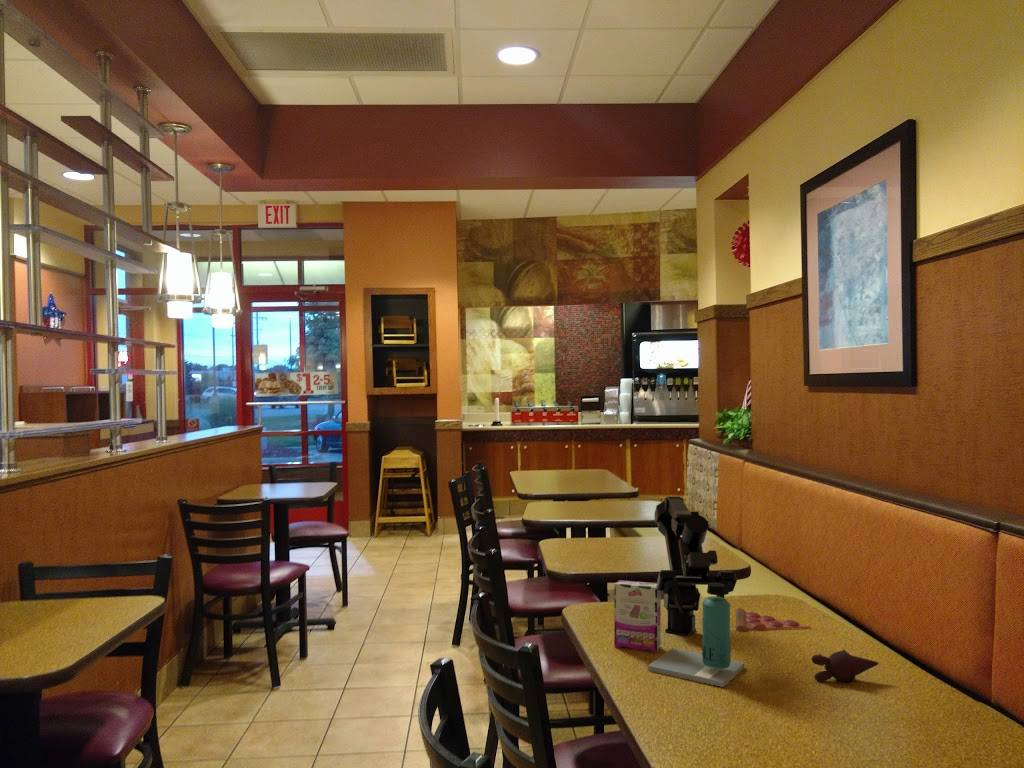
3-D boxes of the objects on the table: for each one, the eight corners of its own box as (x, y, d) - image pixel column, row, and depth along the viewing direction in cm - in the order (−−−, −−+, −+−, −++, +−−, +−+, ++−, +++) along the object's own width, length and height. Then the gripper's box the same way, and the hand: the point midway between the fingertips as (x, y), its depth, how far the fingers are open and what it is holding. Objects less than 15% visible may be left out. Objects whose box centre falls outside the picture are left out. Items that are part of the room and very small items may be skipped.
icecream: (867, 645, 180) (804, 651, 180) (882, 648, 173) (816, 654, 173) (873, 677, 179) (809, 683, 178) (888, 680, 172) (822, 687, 171)
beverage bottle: (734, 669, 178) (735, 582, 178) (725, 678, 173) (725, 588, 173) (707, 663, 182) (707, 578, 182) (697, 672, 176) (697, 584, 176)
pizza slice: (736, 607, 229) (808, 613, 223) (736, 614, 229) (807, 621, 223) (736, 625, 211) (814, 632, 205) (735, 633, 211) (814, 641, 205)
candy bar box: (661, 647, 197) (661, 583, 197) (657, 653, 192) (657, 587, 192) (618, 641, 201) (618, 578, 201) (613, 647, 197) (614, 583, 197)
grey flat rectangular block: (647, 670, 181) (648, 664, 181) (672, 652, 193) (672, 647, 193) (723, 687, 170) (723, 681, 170) (744, 667, 183) (744, 662, 183)
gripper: (659, 537, 191) (666, 594, 180) (735, 538, 190) (747, 595, 179) (654, 562, 198) (660, 617, 187) (726, 563, 198) (738, 619, 187)
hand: (701, 612), depth 185 cm, fingers open, 9 cm apart
